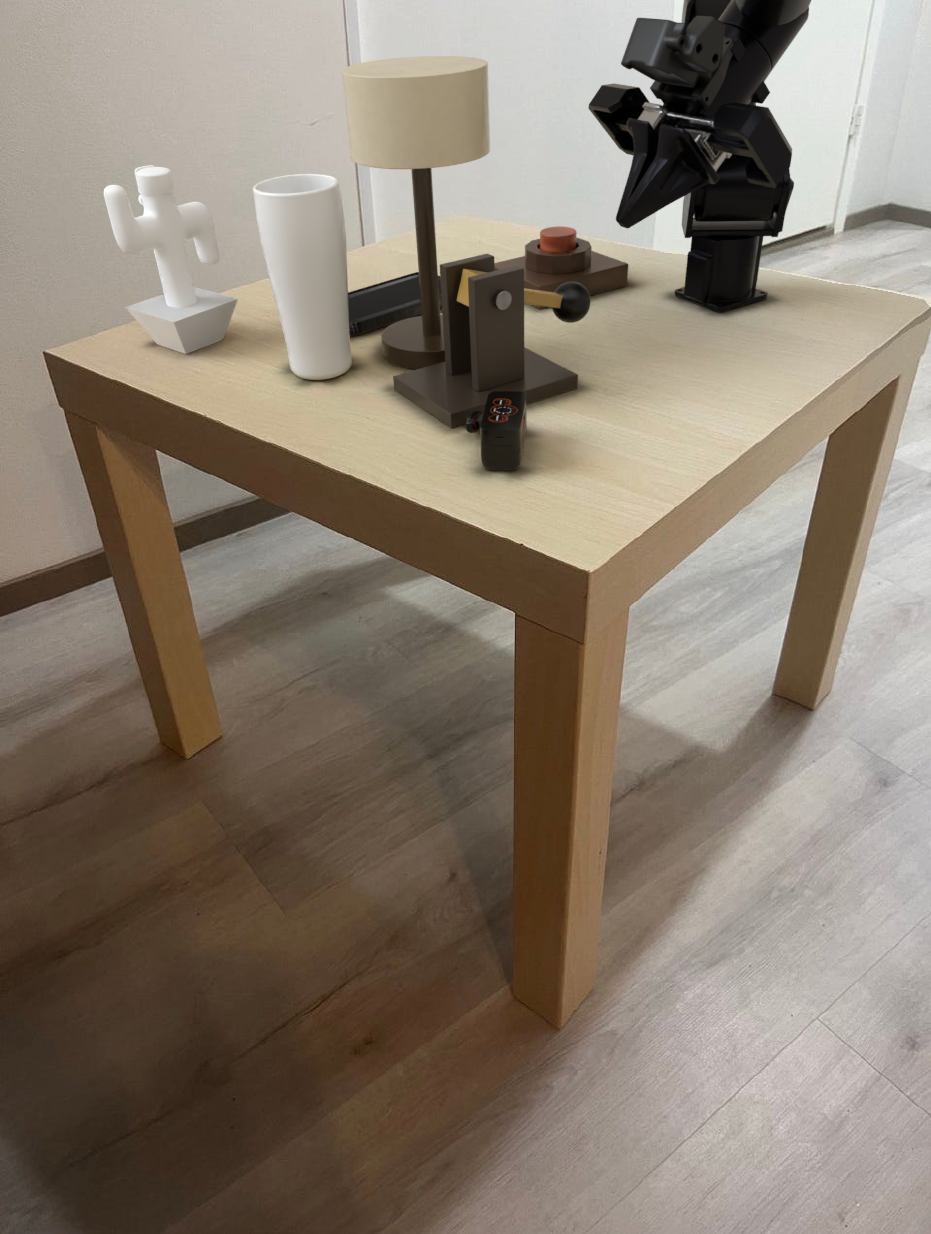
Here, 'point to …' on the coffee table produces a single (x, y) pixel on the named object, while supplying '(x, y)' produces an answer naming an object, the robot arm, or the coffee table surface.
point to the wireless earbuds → (501, 429)
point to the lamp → (418, 160)
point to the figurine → (171, 261)
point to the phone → (385, 303)
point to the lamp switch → (482, 347)
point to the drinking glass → (307, 269)
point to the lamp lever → (544, 298)
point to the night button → (558, 239)
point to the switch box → (568, 268)
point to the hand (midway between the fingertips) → (621, 224)
